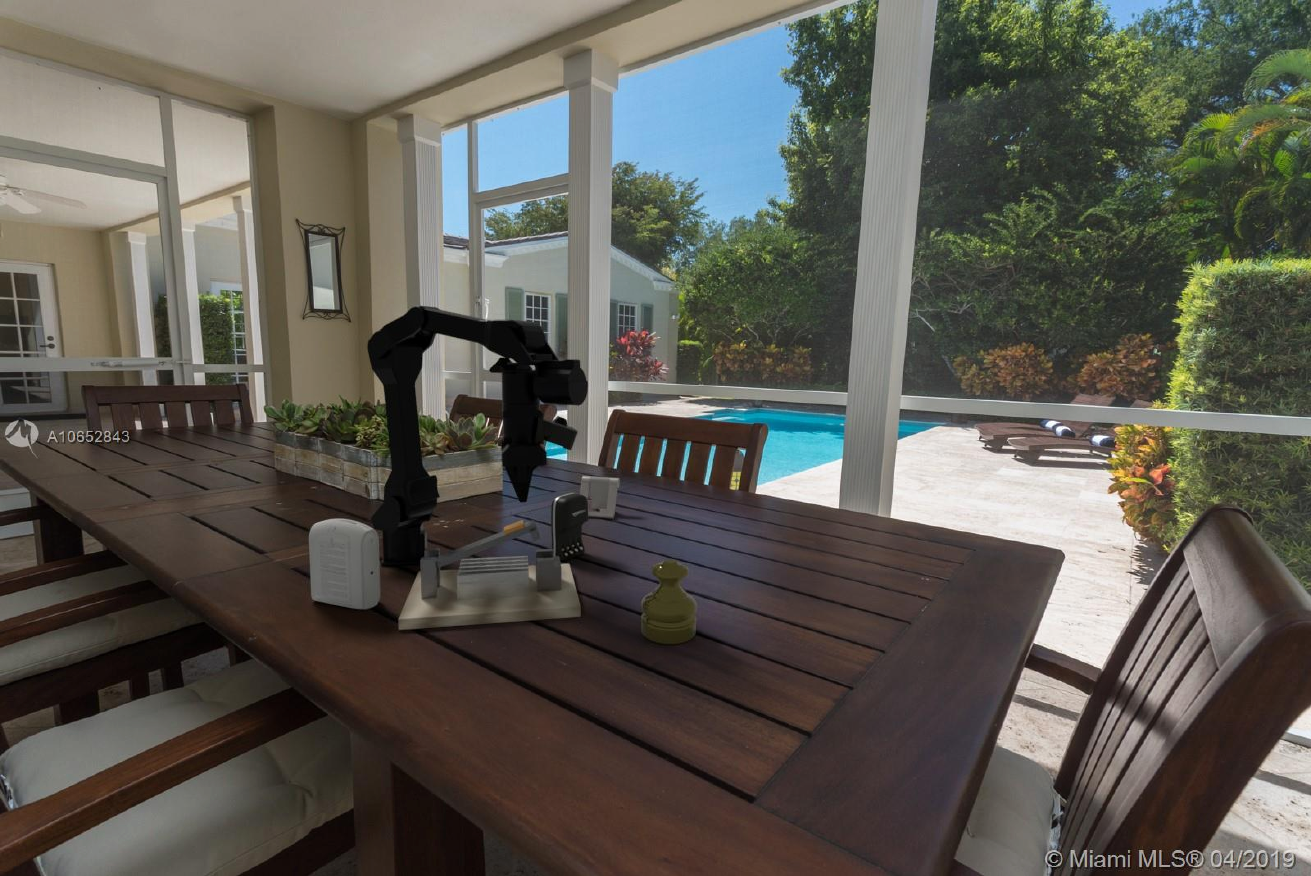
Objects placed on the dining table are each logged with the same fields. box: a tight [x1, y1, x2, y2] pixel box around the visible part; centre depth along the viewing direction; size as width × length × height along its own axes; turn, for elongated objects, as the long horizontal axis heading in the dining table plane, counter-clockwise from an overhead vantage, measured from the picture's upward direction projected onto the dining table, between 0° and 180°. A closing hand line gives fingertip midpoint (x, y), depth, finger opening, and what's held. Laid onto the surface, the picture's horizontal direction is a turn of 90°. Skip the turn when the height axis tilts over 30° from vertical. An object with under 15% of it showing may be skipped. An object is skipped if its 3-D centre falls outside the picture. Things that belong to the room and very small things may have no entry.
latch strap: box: [436, 519, 541, 569], centre depth 91 cm, size 17×2×3 cm, turn 103°
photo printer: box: [308, 518, 381, 610], centre depth 89 cm, size 10×4×12 cm, turn 73°
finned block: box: [457, 555, 529, 601], centre depth 92 cm, size 10×8×4 cm
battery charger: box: [550, 492, 589, 561], centre depth 111 cm, size 7×4×11 cm, turn 148°
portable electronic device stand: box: [579, 475, 621, 519], centre depth 141 cm, size 9×8×8 cm
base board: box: [398, 563, 582, 631], centre depth 92 cm, size 24×18×2 cm
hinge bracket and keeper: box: [419, 547, 562, 599], centre depth 92 cm, size 20×5×6 cm, turn 103°
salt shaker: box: [640, 558, 698, 645], centre depth 81 cm, size 7×8×10 cm
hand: (523, 501), depth 96 cm, fingers closed
